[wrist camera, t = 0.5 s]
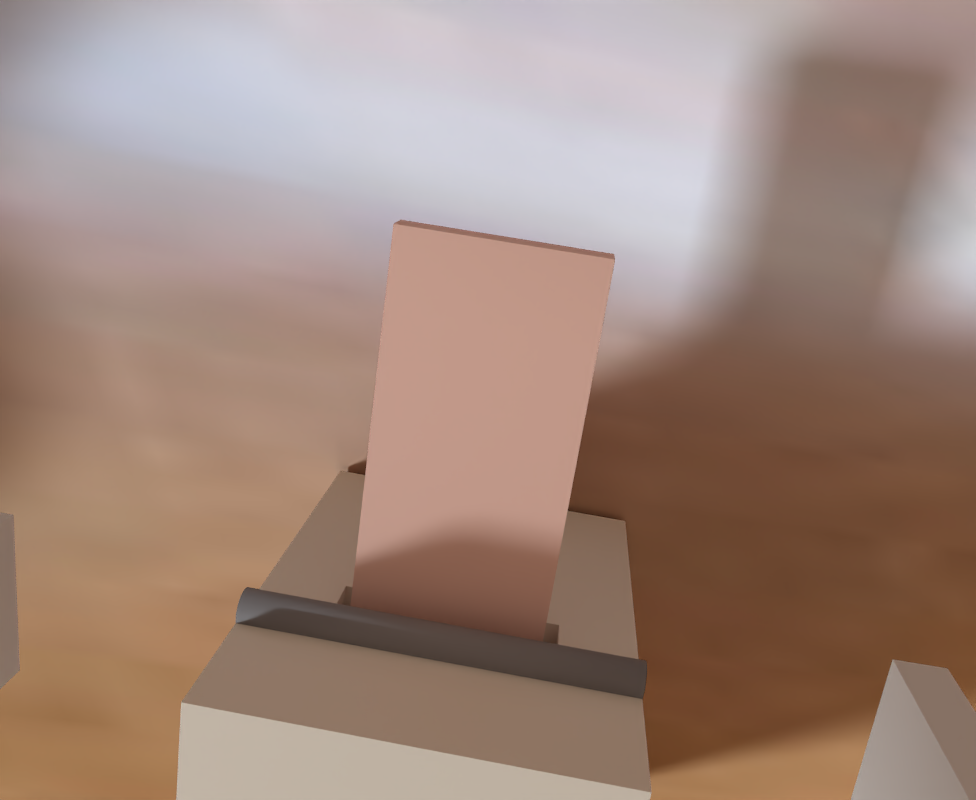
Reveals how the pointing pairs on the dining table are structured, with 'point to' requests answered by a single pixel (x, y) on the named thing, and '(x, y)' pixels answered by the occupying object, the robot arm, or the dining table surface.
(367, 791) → the block
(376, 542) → the ticket strip
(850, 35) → the dining table surface
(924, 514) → the dining table surface
